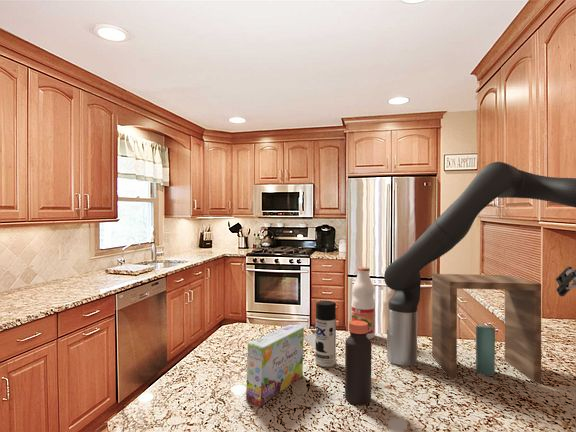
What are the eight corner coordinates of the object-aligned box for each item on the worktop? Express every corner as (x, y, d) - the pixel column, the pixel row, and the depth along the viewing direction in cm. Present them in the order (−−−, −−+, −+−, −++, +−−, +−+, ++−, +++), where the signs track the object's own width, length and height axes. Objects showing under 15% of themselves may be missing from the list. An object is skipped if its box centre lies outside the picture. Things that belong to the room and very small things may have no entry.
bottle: (354, 407, 87) (355, 328, 87) (340, 395, 93) (340, 320, 93) (376, 402, 90) (377, 325, 90) (361, 390, 96) (361, 318, 96)
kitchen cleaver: (295, 327, 150) (317, 325, 152) (295, 330, 150) (317, 327, 152) (309, 348, 126) (335, 345, 128) (309, 351, 126) (335, 348, 128)
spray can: (311, 363, 114) (311, 302, 114) (323, 357, 119) (324, 299, 119) (327, 369, 109) (328, 306, 109) (339, 363, 114) (340, 302, 114)
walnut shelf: (449, 378, 104) (450, 281, 104) (432, 357, 120) (432, 273, 120) (541, 382, 102) (541, 283, 102) (510, 360, 118) (510, 275, 118)
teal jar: (480, 375, 106) (480, 329, 107) (472, 368, 112) (473, 324, 112) (498, 375, 106) (498, 330, 106) (489, 368, 111) (489, 325, 111)
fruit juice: (379, 336, 141) (379, 267, 142) (366, 341, 135) (366, 270, 135) (360, 331, 148) (360, 265, 149) (346, 335, 142) (347, 267, 142)
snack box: (262, 407, 87) (263, 347, 87) (245, 401, 90) (245, 343, 90) (304, 376, 105) (304, 326, 105) (288, 371, 108) (288, 323, 108)
